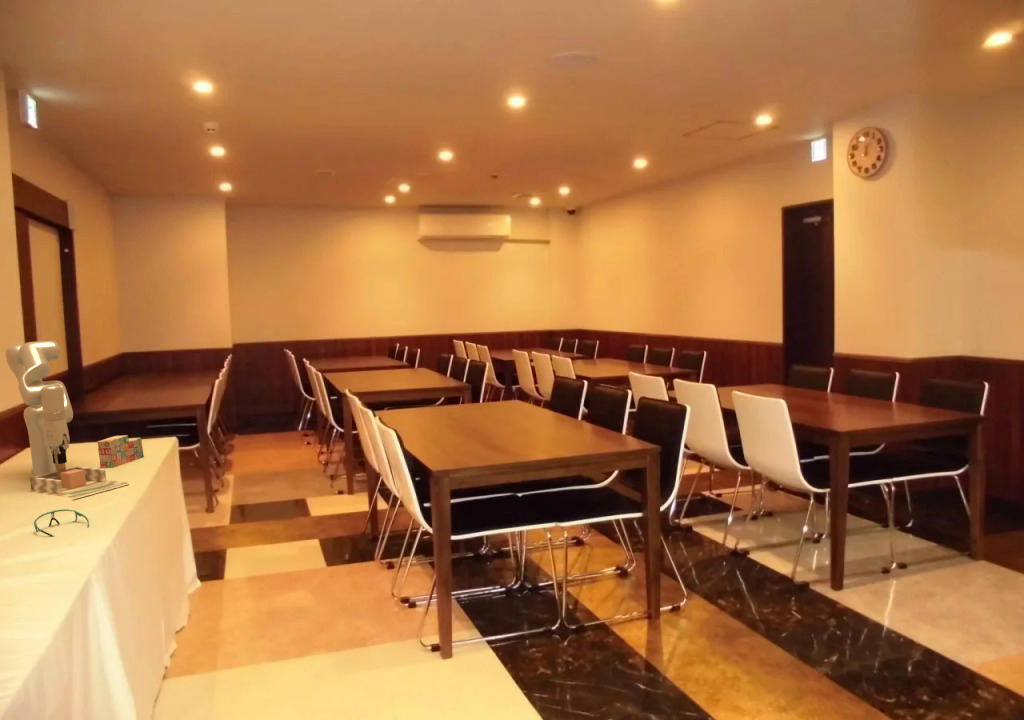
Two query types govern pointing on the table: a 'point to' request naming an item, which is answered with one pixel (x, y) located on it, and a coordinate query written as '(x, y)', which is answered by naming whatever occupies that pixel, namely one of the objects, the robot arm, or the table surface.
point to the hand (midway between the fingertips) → (60, 462)
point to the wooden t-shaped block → (58, 466)
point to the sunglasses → (56, 520)
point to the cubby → (93, 484)
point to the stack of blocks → (119, 451)
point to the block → (73, 479)
